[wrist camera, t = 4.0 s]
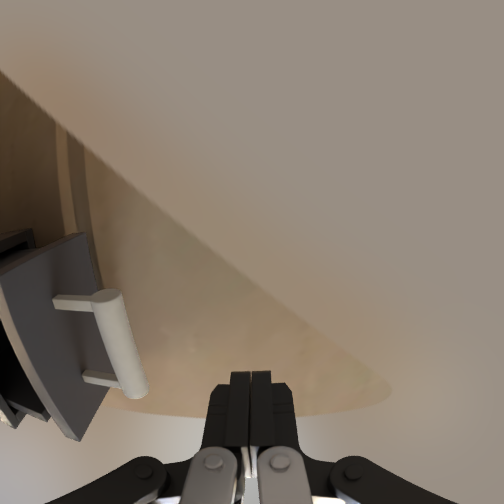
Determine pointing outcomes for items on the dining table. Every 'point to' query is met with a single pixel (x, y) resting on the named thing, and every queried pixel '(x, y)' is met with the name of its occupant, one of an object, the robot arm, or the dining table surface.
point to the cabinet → (3, 243)
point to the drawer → (63, 336)
